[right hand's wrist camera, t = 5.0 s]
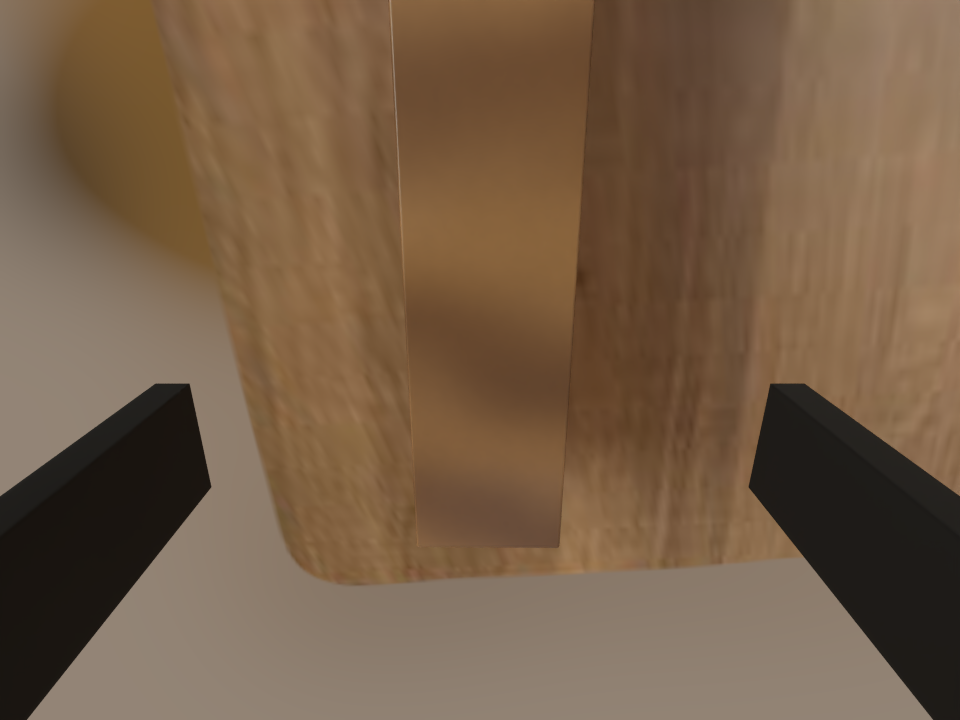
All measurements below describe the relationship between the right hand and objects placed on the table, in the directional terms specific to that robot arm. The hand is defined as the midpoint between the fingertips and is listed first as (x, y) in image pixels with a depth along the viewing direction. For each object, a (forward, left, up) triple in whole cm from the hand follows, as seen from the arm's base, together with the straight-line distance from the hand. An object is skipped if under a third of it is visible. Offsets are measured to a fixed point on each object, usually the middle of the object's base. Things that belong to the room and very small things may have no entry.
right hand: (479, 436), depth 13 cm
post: (+20, 0, -11) cm, 23 cm away
